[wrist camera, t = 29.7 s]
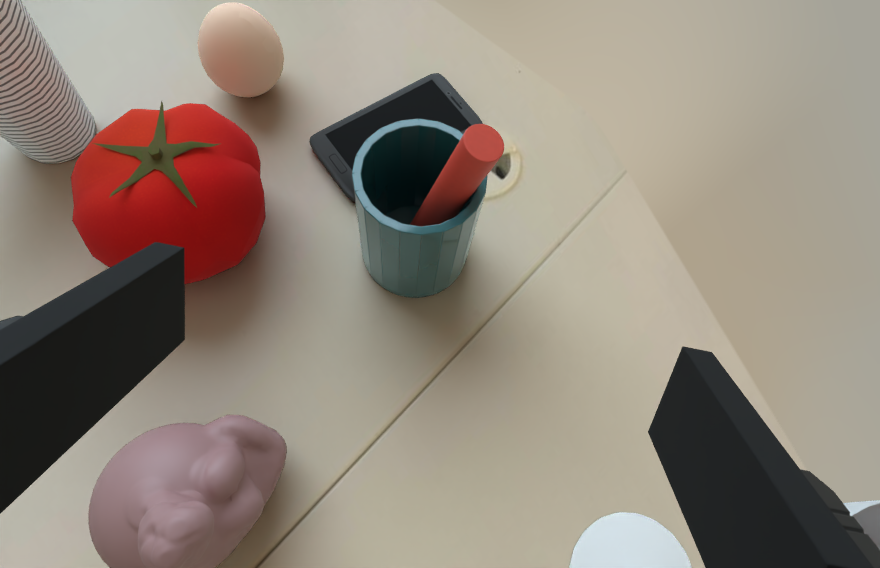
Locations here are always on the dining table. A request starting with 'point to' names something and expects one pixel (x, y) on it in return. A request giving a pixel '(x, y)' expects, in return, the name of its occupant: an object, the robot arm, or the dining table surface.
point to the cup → (38, 93)
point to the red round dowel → (461, 175)
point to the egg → (240, 50)
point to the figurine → (184, 493)
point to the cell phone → (412, 102)
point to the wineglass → (665, 540)
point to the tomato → (170, 188)
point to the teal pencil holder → (410, 208)
